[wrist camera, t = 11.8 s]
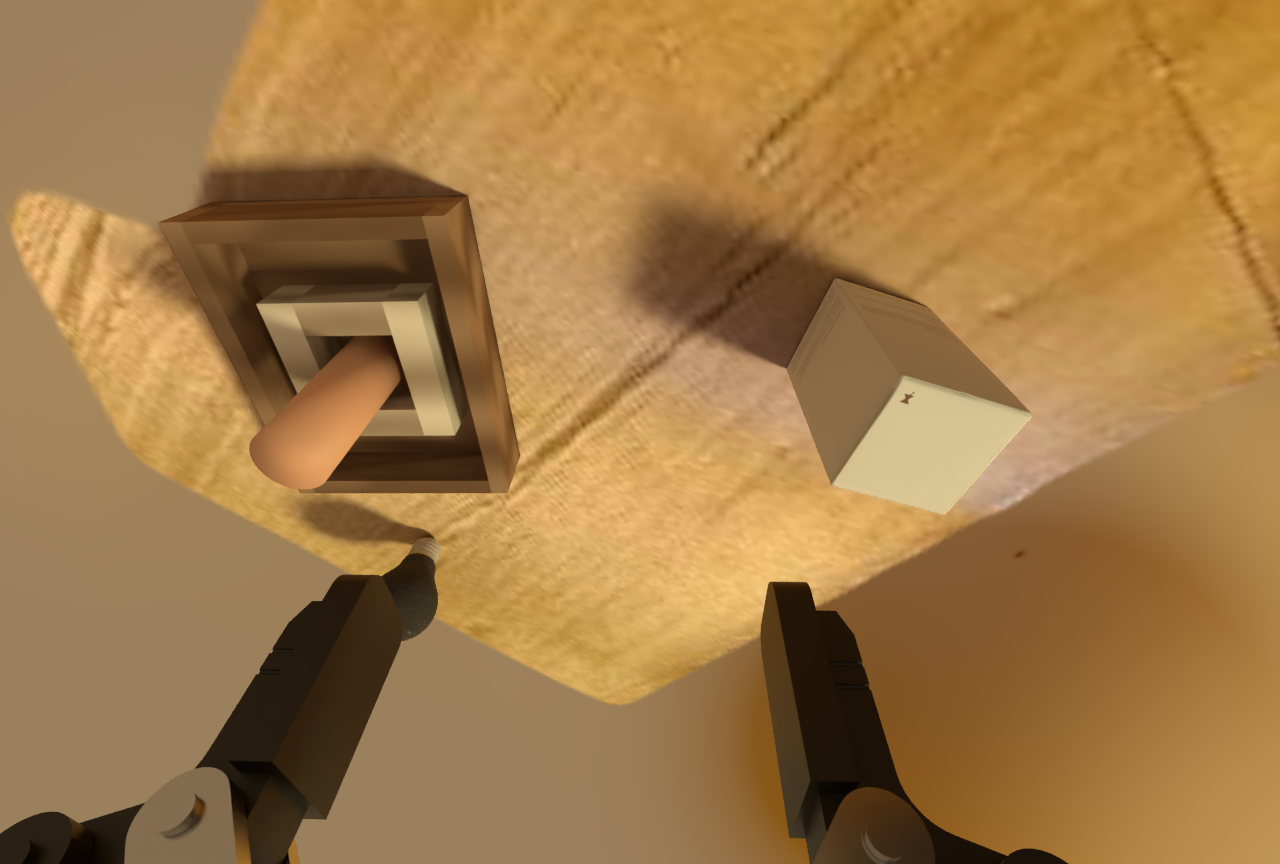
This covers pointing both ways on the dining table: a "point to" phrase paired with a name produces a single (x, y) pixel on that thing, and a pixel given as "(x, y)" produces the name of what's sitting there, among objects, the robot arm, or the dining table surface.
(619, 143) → the dining table surface
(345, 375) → the peg
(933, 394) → the supplement box
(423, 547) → the light bulb
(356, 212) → the box
